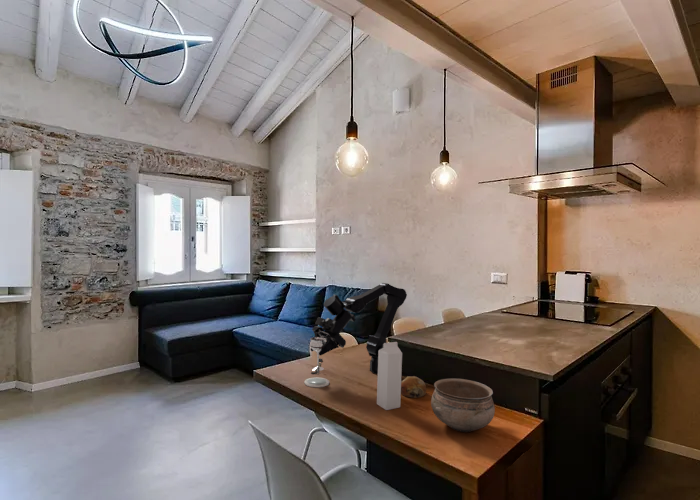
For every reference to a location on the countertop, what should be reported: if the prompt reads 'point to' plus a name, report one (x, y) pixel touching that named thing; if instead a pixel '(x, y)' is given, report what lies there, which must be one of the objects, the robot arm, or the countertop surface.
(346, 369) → the countertop surface
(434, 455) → the countertop surface
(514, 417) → the countertop surface
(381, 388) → the milk
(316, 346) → the wineglass
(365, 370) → the countertop surface
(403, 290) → the robot arm
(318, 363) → the tactical tomahawk
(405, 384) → the bread roll
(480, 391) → the cooking pot
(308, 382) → the plate
